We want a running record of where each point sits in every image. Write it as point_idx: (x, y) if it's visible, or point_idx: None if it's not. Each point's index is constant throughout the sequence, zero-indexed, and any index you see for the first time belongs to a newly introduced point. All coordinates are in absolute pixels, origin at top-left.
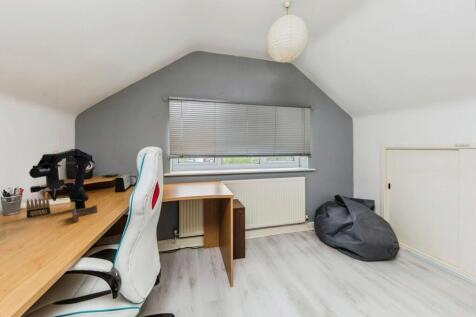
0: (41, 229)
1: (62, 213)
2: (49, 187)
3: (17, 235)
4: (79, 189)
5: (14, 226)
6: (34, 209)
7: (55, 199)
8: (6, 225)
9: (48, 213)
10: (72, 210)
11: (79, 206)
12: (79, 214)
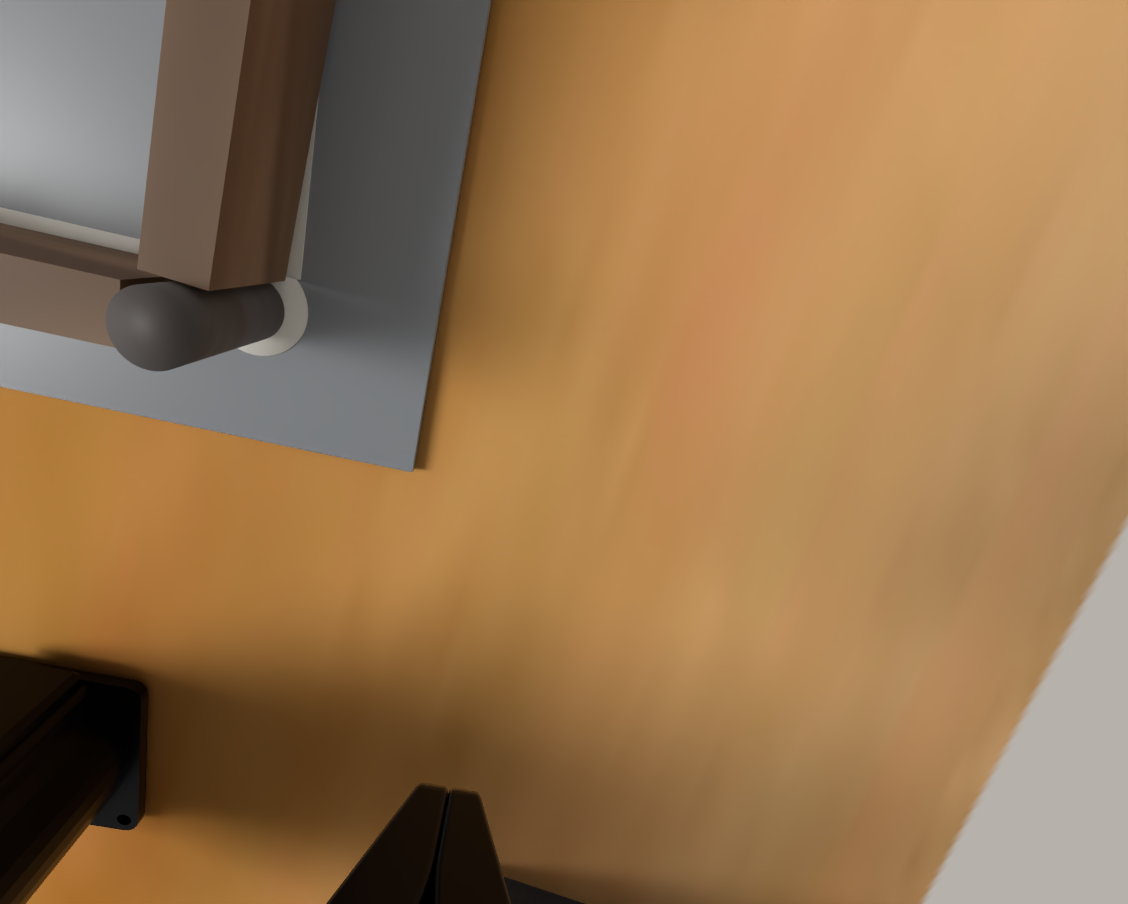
0: (833, 191)
1: (321, 776)
2: None
3: (1121, 252)
4: None
5: (909, 743)
6: None
7: (406, 825)
8: (923, 866)
9: None
10: (193, 317)
11: (7, 724)
12: None
